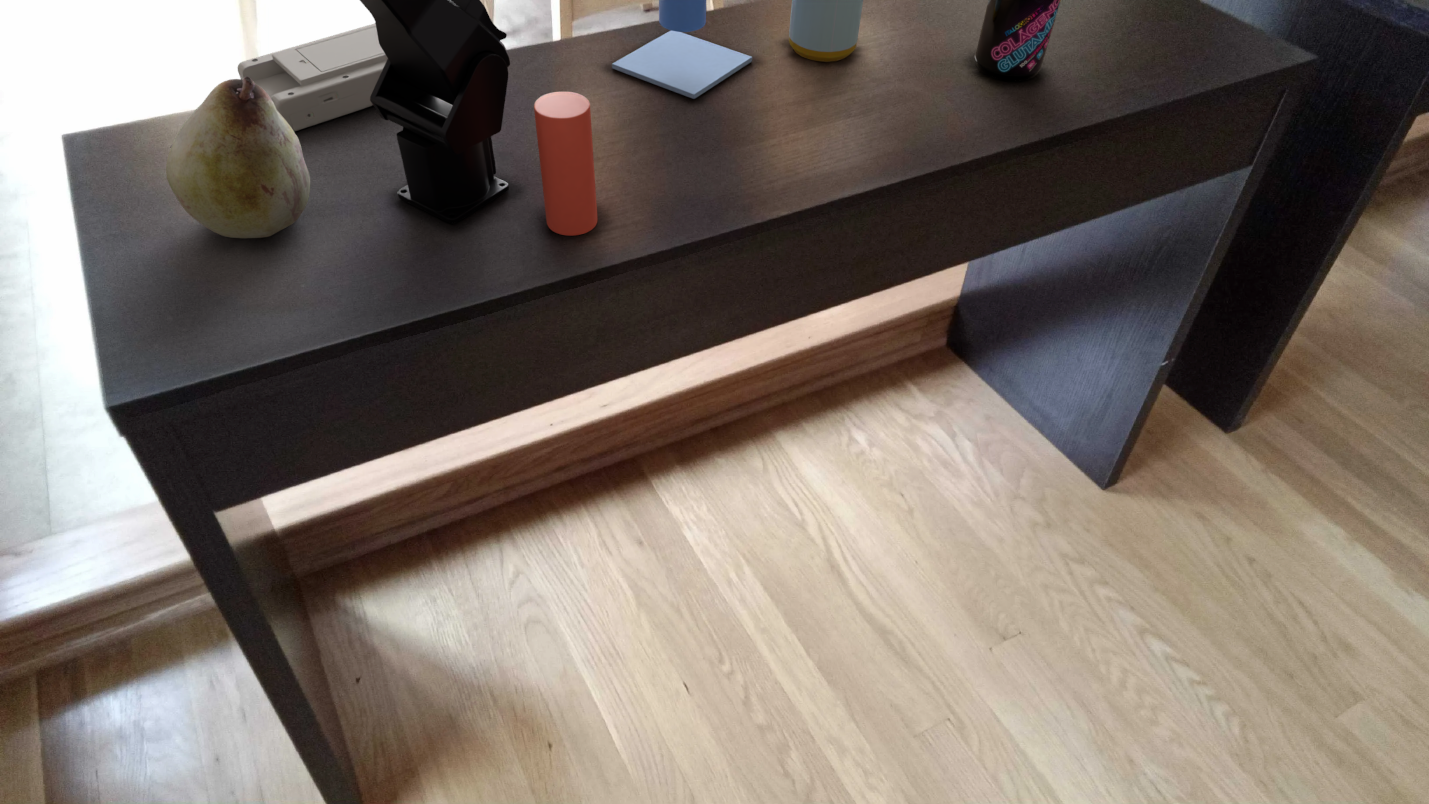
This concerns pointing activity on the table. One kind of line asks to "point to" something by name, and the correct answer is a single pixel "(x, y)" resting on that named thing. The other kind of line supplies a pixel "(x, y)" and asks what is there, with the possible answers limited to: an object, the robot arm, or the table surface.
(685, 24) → the blue peg
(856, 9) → the bottle
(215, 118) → the fruit
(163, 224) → the table surface
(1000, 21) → the supplement container
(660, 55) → the blue mat
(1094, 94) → the table surface
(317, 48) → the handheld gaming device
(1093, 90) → the table surface
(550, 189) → the red peg
